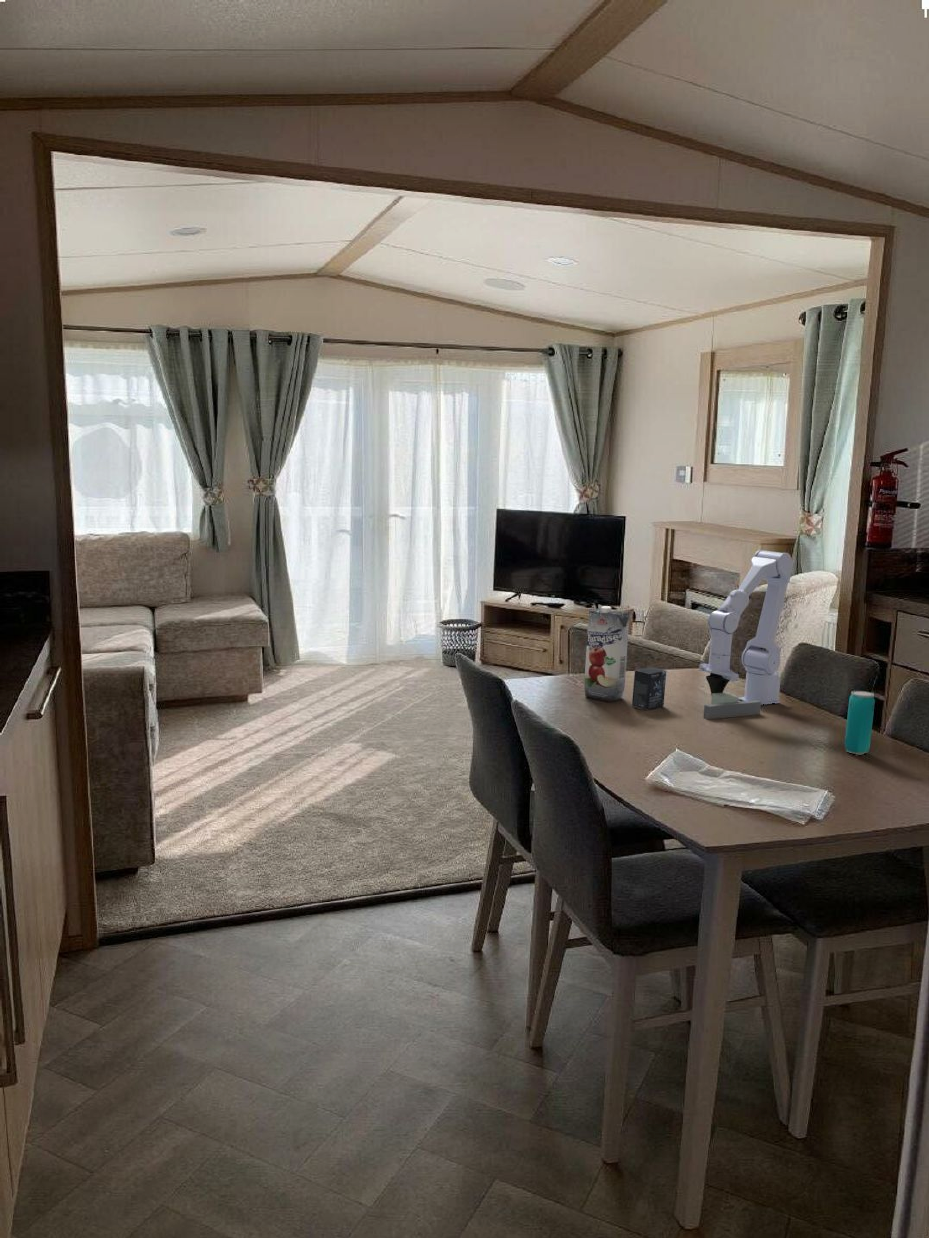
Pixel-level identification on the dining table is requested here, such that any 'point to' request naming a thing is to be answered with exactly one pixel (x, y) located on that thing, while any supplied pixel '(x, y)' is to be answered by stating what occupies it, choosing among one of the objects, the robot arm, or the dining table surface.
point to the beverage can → (859, 722)
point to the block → (723, 698)
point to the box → (649, 688)
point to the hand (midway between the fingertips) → (716, 700)
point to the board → (732, 709)
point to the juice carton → (606, 653)
